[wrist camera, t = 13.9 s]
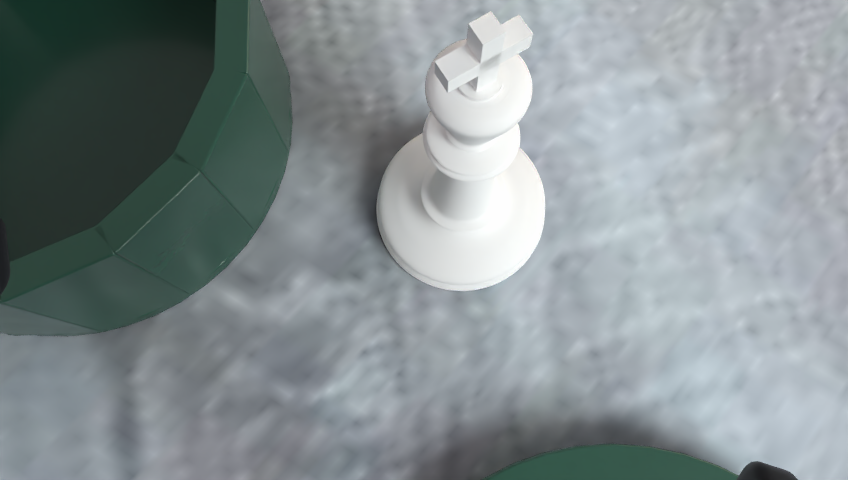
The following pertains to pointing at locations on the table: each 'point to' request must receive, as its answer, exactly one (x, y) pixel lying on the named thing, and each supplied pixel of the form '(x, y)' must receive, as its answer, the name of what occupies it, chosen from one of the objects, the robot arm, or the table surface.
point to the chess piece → (467, 167)
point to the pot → (132, 153)
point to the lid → (612, 465)
